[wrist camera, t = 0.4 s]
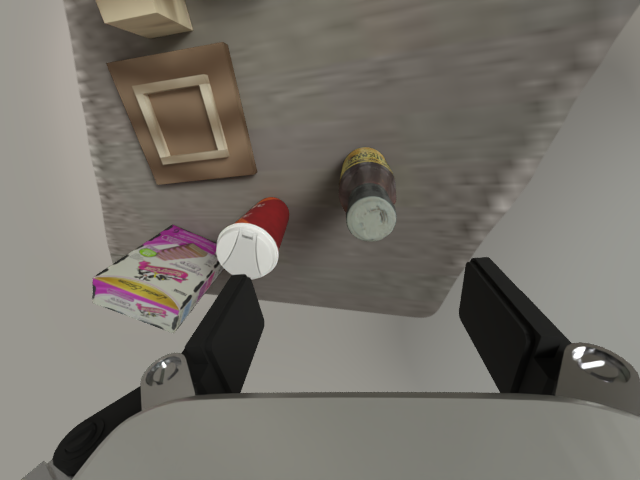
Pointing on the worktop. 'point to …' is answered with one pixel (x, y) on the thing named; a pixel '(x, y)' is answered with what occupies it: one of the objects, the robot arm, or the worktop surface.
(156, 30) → the maple block
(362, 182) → the sauce bottle
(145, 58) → the base plate
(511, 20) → the worktop surface
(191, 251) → the candy bar box
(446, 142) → the worktop surface
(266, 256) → the paper cup
